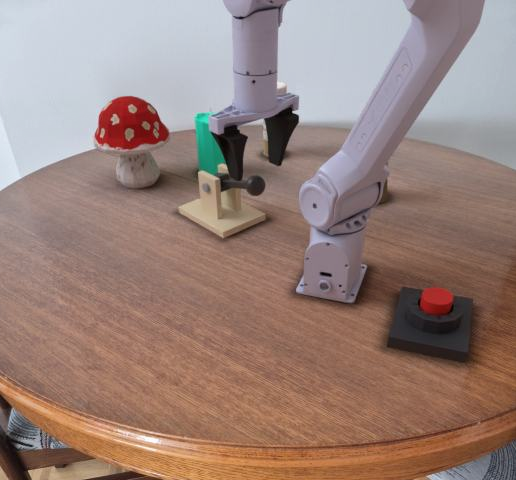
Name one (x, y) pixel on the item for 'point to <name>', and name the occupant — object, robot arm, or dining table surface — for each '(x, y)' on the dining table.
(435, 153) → the dining table surface
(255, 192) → the lever
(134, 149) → the decorative mushroom
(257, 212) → the lever
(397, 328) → the control block
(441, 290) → the button
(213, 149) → the candle
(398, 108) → the robot arm
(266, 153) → the sprinkles bottle
